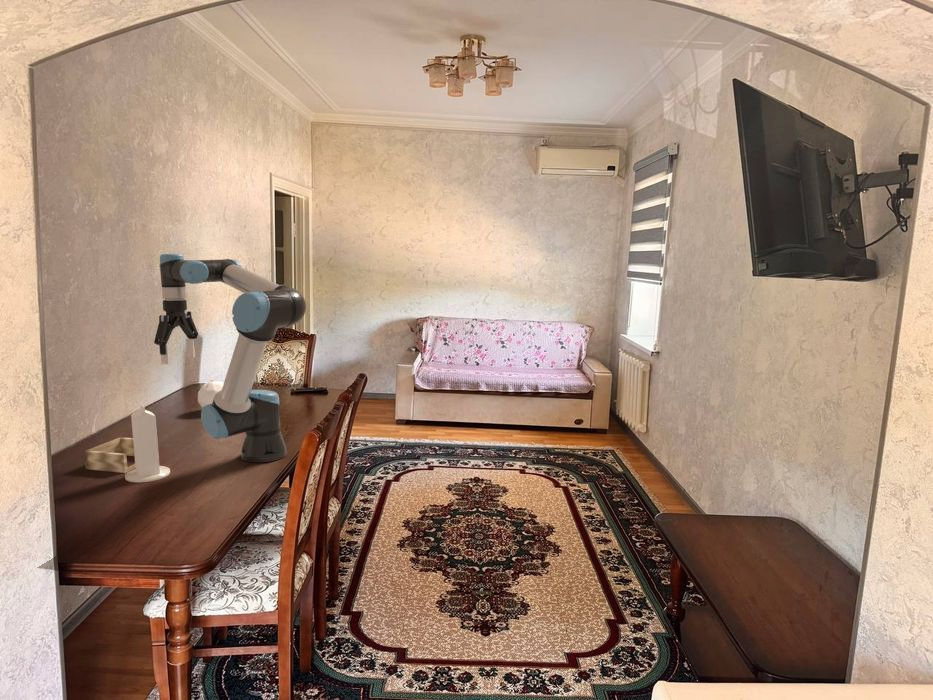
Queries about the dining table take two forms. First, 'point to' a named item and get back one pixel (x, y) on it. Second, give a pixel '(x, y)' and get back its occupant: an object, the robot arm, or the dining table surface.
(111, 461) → the shelf bay
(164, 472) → the cream flat disc
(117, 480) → the dining table surface
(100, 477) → the dining table surface
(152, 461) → the milk
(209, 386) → the geodesic sphere
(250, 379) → the robot arm
